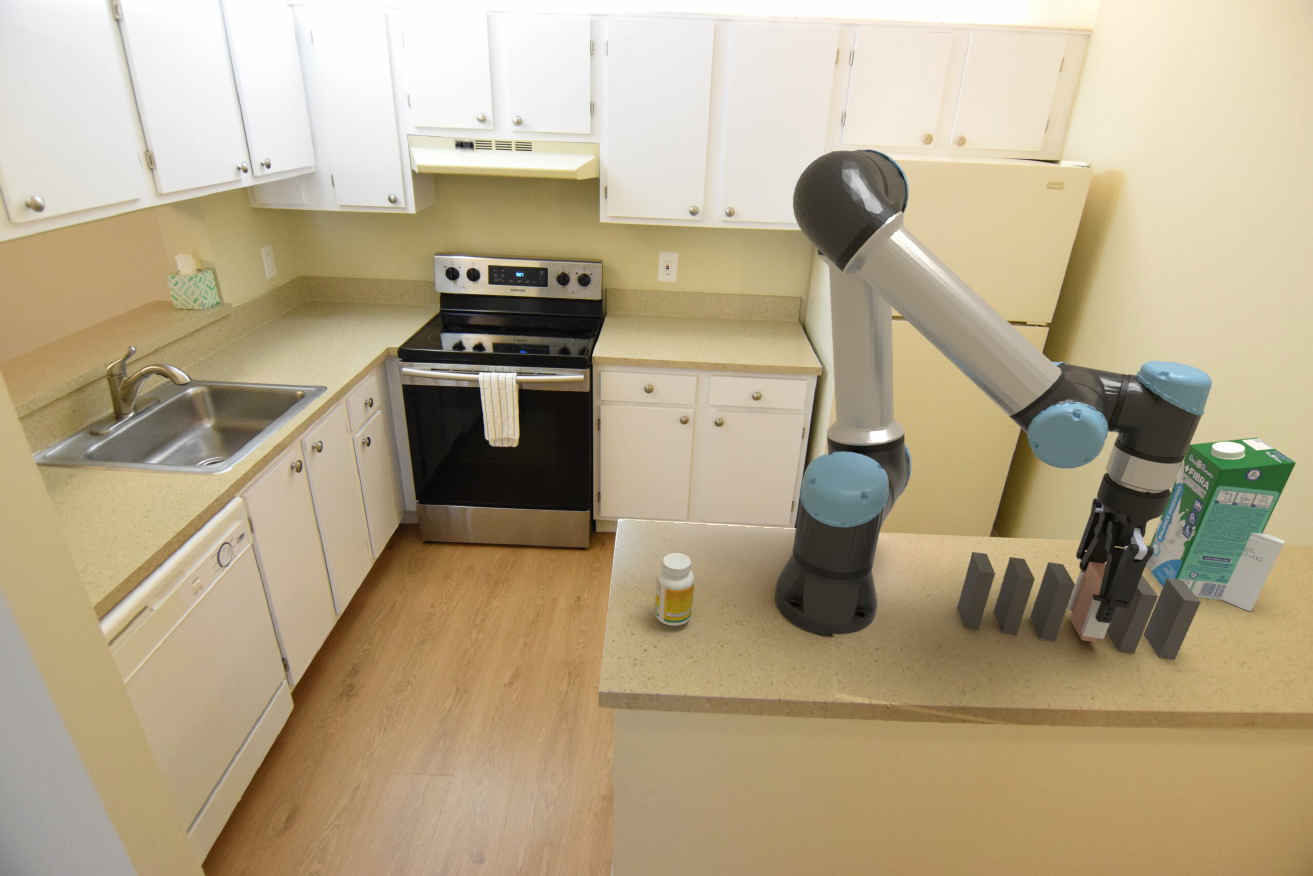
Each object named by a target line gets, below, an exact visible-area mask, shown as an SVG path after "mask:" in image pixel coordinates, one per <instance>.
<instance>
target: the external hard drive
mask: <svg viewBox="0 0 1313 876" xmlns="http://www.w3.org/2000/svg"><path fill="white" fill-rule="evenodd" d="M1285 543H1286V540H1284V539H1282V538H1279V537H1276V536H1274V535H1271V534H1269V533H1267V532H1266V533H1265V532H1263V533H1262V534H1261V533H1251V536H1250V537H1249V540H1248V542H1247V544H1246V547H1245V549H1244V551H1243V553H1242V555H1241V557H1240V559H1239V561H1238V563H1237V565H1236V567H1235V569H1234V571H1233V573H1232V575H1231V577H1230V580H1229V582H1228V584H1227V586H1226V588H1225V590H1224V592H1223V594H1222V596H1221V598H1220V599H1221V600H1220V601H1223V602H1225V603H1228V604H1231V605H1233V606H1235V607H1238V608H1240V609H1243V610H1245V611H1248V612H1251V611H1252V610H1253V608H1254V605H1255V604H1256V602H1257V600H1258V598H1259V596H1260V594H1261V591H1262V589H1263V588H1264V586H1265V583H1266V582H1267V579H1268V578H1269V575H1270V573H1271V572H1272V570H1273V568H1274V565H1275V563H1276V561H1277V559H1278V557H1279V555H1280V553H1281V551H1282V549H1283V548H1284V545H1285Z"/></svg>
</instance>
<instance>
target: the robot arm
mask: <svg viewBox="0 0 1313 876" xmlns="http://www.w3.org/2000/svg"><path fill="white" fill-rule="evenodd" d="M909 189H910V188H909V182H908V179H907V176H906V173H905V170H904V169H903V168H902V166H901V165H900V164H899V163H898V162H897V161H896V160H895V159H894V158H893V157H891V156H889V155H888V154H886V153H884V152H881V151H878V150H874V149H870V148H869V149H856V150H836V151H831V152H827V153H825V154H823V155H821V156H818V157H817V158H816V159H815V160H813V161H812V162H811V163H810V164H809V165H808V166H807V167H806V168H805V169H804V170H803V172H802V173H801V174H800V176H799V178H798V180H797V182H796V184H795V187H794V192H793V195H792V196H793V197H792V209H793V214H794V218H795V220H796V223H797V225H798V227H799V229H800V231H801V232H802V233H803V234H804V236H805V237H806V239H808V240H809V242H810V243H811V244H812V245H813V246H815V248H816V249H817V257H818V258H819V259H820V261H823V262H824V263H825V264H826V265H827V266H828V270H829V271H828V272H829V295H830V312H831V313H830V314H831V335H832V336H831V337H832V338H831V339H832V358H833V380H834V399H835V401H834V402H835V422H834V423H833V424H832V425H831V426H830V427H829V428H828V429H827V431H826V438H827V453H824V454H822V455H819V456H818V457H816V458H814V459H813V460H812V461H811V462H810V463H809V464H808V465H807V467H806V469H805V471H804V473H803V477H802V480H801V483H800V484H801V485H800V489H799V495H800V499H799V504H798V512H797V518H796V526H795V531H794V532H795V533H794V540H793V548H792V554H791V555H790V556H789V559H788V560H787V562H786V564H785V566H784V567H783V569H782V571H781V573H780V575H779V576H778V578H777V581H776V584H775V592H774V602H775V606H776V607H777V609H778V611H779V612H780V613H781V615H782V616H783V617H784V618H785V619H786V620H788V622H790V623H791V624H794V625H795V626H796V627H799V628H800V629H801V630H805V631H807V632H809V633H812V634H816V635H819V636H820V635H821V636H825V637H826V636H827V637H834V635H847V634H853V633H856V632H859V631H862V630H864V629H866V628H868V627H869V626H870V625H871V624H872V622H874V619H875V617H876V614H877V610H878V598H877V592H876V587H875V579H874V575H873V565H874V560H875V555H876V551H877V546H878V543H879V542H878V541H879V537H880V532H881V529H882V527H883V524H884V523H885V521H886V519H887V517H888V516H889V514H890V512H891V510H892V509H893V508H894V505H895V504H896V502H897V500H898V499H899V497H900V496H901V495H903V492H904V491H905V489H906V488H907V486H908V483H909V481H910V478H911V473H912V458H911V453H910V451H909V448H908V446H907V444H906V443H905V428H904V426H903V425H902V424H901V423H900V422H898V421H897V420H896V419H895V413H894V408H895V407H894V406H895V405H894V364H893V363H894V360H893V356H894V355H893V317H892V316H893V313H892V312H893V309H894V310H895V312H896V311H897V313H898V314H900V315H901V317H902V318H904V320H906V321H907V322H908V323H909V324H910V326H912V327H913V328H914V329H915V330H916V331H918V332H919V333H920V334H921V335H922V336H923V337H924V338H925V339H926V340H927V341H928V342H929V343H930V344H932V346H933V347H935V349H936V350H937V351H938V352H940V353H941V354H942V355H943V356H944V357H945V358H947V360H949V362H951V363H952V364H953V365H954V366H955V367H956V368H957V369H958V370H959V371H960V372H962V374H964V376H965V377H966V378H968V379H969V380H970V381H971V383H973V384H974V385H975V386H976V387H977V388H978V389H979V390H980V391H982V393H983V394H985V396H987V397H988V399H990V400H991V401H992V402H993V403H994V404H996V406H998V408H999V409H1000V410H1002V411H1003V412H1004V413H1005V414H1006V415H1007V416H1008V417H1009V418H1010V419H1011V420H1012V421H1013V422H1014V423H1015V424H1017V425H1018V427H1019V428H1021V430H1022V431H1023V432H1025V434H1027V441H1028V443H1029V447H1030V449H1031V451H1032V453H1033V454H1034V455H1035V457H1036V458H1038V459H1039V460H1040V461H1041V462H1043V463H1045V464H1047V465H1048V466H1050V467H1054V468H1057V469H1058V468H1059V469H1065V470H1066V469H1076V468H1080V467H1084V466H1085V465H1088V464H1089V463H1092V462H1093V461H1094V460H1095V459H1096V458H1097V457H1098V456H1099V455H1100V454H1101V452H1102V450H1103V448H1104V447H1105V443H1106V439H1107V437H1108V433H1109V432H1110V433H1116V434H1117V436H1116V439H1115V441H1114V443H1113V446H1112V449H1111V452H1110V455H1109V458H1108V460H1107V463H1106V466H1105V471H1106V472H1105V473H1104V474H1103V477H1102V479H1101V482H1100V485H1099V488H1098V491H1097V493H1096V497H1094V498H1093V499H1092V503H1091V510H1090V514H1089V517H1088V520H1087V523H1086V525H1085V529H1084V532H1083V534H1082V537H1081V540H1080V542H1079V545H1078V548H1077V551H1076V553H1075V554H1076V555H1075V557H1076V559H1077V560H1080V562H1079V565H1078V567H1079V569H1080V571H1079V573H1078V574H1079V575H1078V577H1077V579H1076V582H1075V587H1074V589H1073V592H1072V595H1071V598H1070V601H1069V604H1068V606H1067V610H1068V611H1070V612H1072V610H1073V607H1074V604H1075V602H1076V599H1077V596H1078V593H1079V590H1080V588H1081V585H1082V582H1083V579H1084V576H1085V573H1086V570H1087V567H1088V565H1089V562H1097V563H1104V564H1105V570H1104V575H1103V580H1102V584H1101V589H1100V594H1099V595H1094V594H1093V601H1092V604H1091V606H1090V609H1089V612H1088V615H1087V617H1086V620H1085V623H1084V625H1083V628H1082V631H1081V633H1082V635H1083V636H1087V637H1094V638H1098V639H1100V640H1101V639H1102V640H1104V638H1105V637H1106V634H1107V629H1108V627H1109V624H1110V622H1111V619H1112V617H1113V614H1114V611H1115V609H1116V607H1121V608H1129V607H1130V604H1131V602H1132V599H1133V596H1134V594H1135V591H1136V589H1137V586H1138V584H1139V581H1140V579H1141V576H1142V575H1143V573H1144V570H1145V568H1146V563H1147V562H1148V560H1149V559H1150V558H1151V556H1152V555H1153V553H1154V548H1153V547H1152V546H1150V545H1146V543H1145V540H1144V537H1145V536H1146V531H1147V529H1146V528H1147V523H1148V522H1149V521H1152V520H1154V519H1157V518H1159V517H1160V518H1161V516H1162V514H1163V512H1164V509H1165V507H1166V504H1167V502H1168V499H1169V497H1170V494H1171V490H1170V489H1172V488H1173V486H1174V483H1175V481H1176V478H1177V476H1178V473H1179V471H1180V468H1182V467H1183V460H1184V458H1185V455H1186V453H1187V450H1188V448H1189V445H1191V443H1192V440H1193V438H1194V436H1195V433H1196V430H1197V429H1198V426H1199V423H1200V420H1201V418H1202V417H1203V416H1204V414H1205V411H1204V410H1205V407H1206V404H1207V401H1208V398H1209V395H1210V391H1211V389H1212V384H1213V381H1212V379H1211V377H1210V375H1209V374H1208V373H1207V372H1206V371H1204V370H1201V369H1199V368H1198V367H1194V366H1191V365H1188V364H1186V363H1179V362H1174V361H1173V362H1172V361H1161V360H1152V361H1147V362H1145V363H1143V364H1142V365H1141V367H1140V369H1139V370H1138V371H1137V373H1136V374H1126V373H1120V372H1115V371H1107V370H1104V369H1096V368H1093V367H1092V368H1090V367H1087V366H1086V367H1085V366H1080V365H1075V364H1068V363H1067V362H1065V361H1058V362H1056V361H1051V360H1050V359H1049V358H1048V357H1047V356H1046V355H1045V354H1044V353H1043V352H1041V351H1040V350H1039V349H1038V348H1037V347H1036V346H1035V345H1034V344H1033V343H1032V342H1030V341H1029V340H1028V339H1027V338H1026V337H1025V335H1023V334H1022V333H1021V332H1020V331H1019V330H1017V328H1015V327H1014V326H1013V325H1012V324H1011V323H1010V322H1009V321H1008V320H1006V318H1004V317H1003V316H1002V315H1001V313H999V312H998V311H997V310H996V309H995V308H993V306H991V305H990V304H989V303H988V302H987V301H986V300H985V299H984V298H982V297H981V295H980V294H978V293H977V292H976V290H974V289H973V288H971V286H969V284H967V283H966V282H965V281H964V280H963V279H962V278H961V277H960V276H959V275H958V274H957V273H955V272H954V271H953V270H952V269H951V268H950V267H949V266H948V265H946V263H945V262H943V261H942V260H941V259H940V258H939V257H938V256H937V255H936V254H935V253H933V252H932V251H931V249H929V248H928V247H927V246H926V245H925V243H923V242H921V241H920V239H918V238H917V237H916V236H915V235H914V234H913V233H912V232H911V231H909V229H907V228H906V226H905V224H904V213H905V211H906V208H907V206H908V201H909V195H910V190H909Z"/></svg>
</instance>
